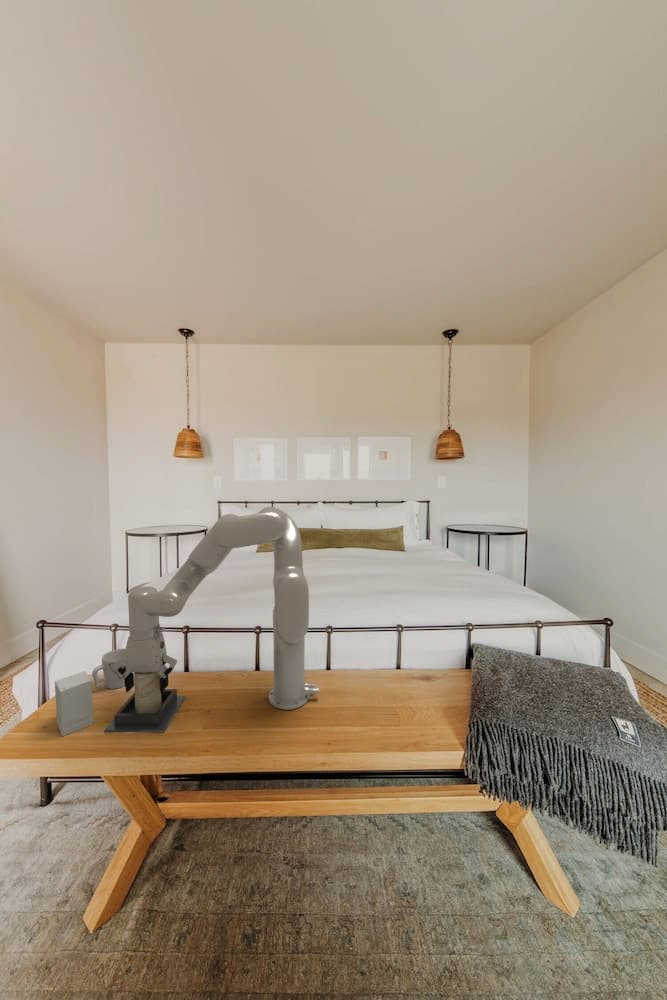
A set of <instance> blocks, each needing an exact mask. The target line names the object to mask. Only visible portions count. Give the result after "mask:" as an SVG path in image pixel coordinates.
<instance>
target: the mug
mask: <svg viewBox="0 0 667 1000" xmlns="http://www.w3.org/2000/svg"><path fill="white" fill-rule="evenodd" d="M125 653H126V647H125V648H116V649H112V650H110V651H107V652H106V653H104V654H103V655H102V657H101V664H100V665H98V666H96V667H94V669H93V670H92V672H91V676H92V679H93V682H94V685H95V686H96V687H97V688H102V687H105V686H107V688H108V689H111V690H116V688H117V689H121V688H123V687H125V680H124V678H122V675H121V674H120V673H119V672H118V669H117V668H116V666H115V664H114V663H115V662H116V661H117V660H118V659H120V658H122V657H124V656H125ZM123 665H124V666H125V662H123ZM101 670H102V671H103V677H104V680H103V681H102V682H100V680H99V677H98V673H99V671H101ZM120 687H121V688H120Z"/></svg>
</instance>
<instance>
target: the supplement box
mask: <svg viewBox="0 0 667 1000" xmlns="http://www.w3.org/2000/svg"><path fill="white" fill-rule="evenodd" d="M54 693H55V708H56V709H55V712H56V724H57V727H58V729H59V732H60V735H61V737H65V736H67V735H70V734H72V733H74V732H75V733H76V732H77V731H80V730H83V729H84V728H86V727H90V726H91V725H94V706H93V705H94V703H93V685H92V679H91V677H90V676H89V675H88V673H87V672H86V671H81V672H78V673H76V674H75V673H74V674H72V675H68V676H66V677H63V678H60V679H58V680H57V679H56V680H55V681H54Z"/></svg>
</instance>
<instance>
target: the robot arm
mask: <svg viewBox="0 0 667 1000" xmlns="http://www.w3.org/2000/svg"><path fill="white" fill-rule="evenodd" d="M268 543H272V544H273V578H272V579H273V580H272V582H273V583H272V584H273V593H274V594H273V595H274V606H273V609H272V627H273V629H272V633H273V637H272V638H273V688H272V689H270V691H269V693H268V702H269V703H270V705H271V706H272V707H274V708H275V709H276V708H277V709H279V710H287V711H288V710H295V709H299V708H300V707H302V706H303V705H305V704H306V703H307V702H308V701H309V699H310V695H319V694H320V693H319V692H320V691H319V689H320V688H319V687H316V683H309V682H307V678H305V646H306V644H305V642H306V641H305V640H306V639H305V637H306V635H307V632H308V630H309V626H310V625H309V624H310V621H309V620H310V601H309V600H310V599H309V598H310V592H309V584H308V581H307V579H306V575H305V574H304V568H303V545H302V536H301V533H300V530H299V528H298V526H297V524H296V522H295V521H294V519H293V518H292V517H291V516H290V515H288V513H286V512H285V511H283V510H281V509H280V508H277V507H273V506H267V507H263V508H262V509H260V510H259V511H258V513H253V514H247V515H240V516H238V515H236V514H234V513H233V514H232V513H227V514H224V515H222V516H221V517H219V518H218V519H217V520H216V521H215V523H214V525H212V526H211V528H210V529H209V530H208V532H207V533H206V534H205V535H204V537H202V539H201V540H200V541H199V542H198V543H197V544H196V546H195V547H194V548H193V549H192V551H191V552H190V554H189V555H188V557H187V559H186V560H185V562H184V563H183V564H182V565H181V567H180V568H179V569H178V571H176V573H175V574H174V575H173V577H172V578H171V579H170V580H169V582H168V583H167V584H166V585H165V586H164V587H163V589H162V590H160V591H158V589H157V588H155V587H153V586H141V587H137V588H134V589H132V590H130V591H129V593H128V597H127V600H128V601H127V602H128V603H127V604H128V627H129V628H128V631H129V636H128V637H127V640H126V644H125V649H126V653H125V656H124V657H122V658H120V659H118V660H117V661H116V662H115V663H114V664H115V666H116V668H117V669H118V672H119V673H120V674H121V675H122V678H124V680H125V686H124V688H125V692H126V693H128V692H130V691H131V690H132V689H133V688H134V687H135V686H134V672H157V673H158V674H159V675H160V676H161V678H160V691H161V692H163V691H164V690H165V689H167V688H168V686H169V675H170V674H171V673H172V671H173V670H174V669H175V667H176V665H177V663H178V660H177V659H175V658H173V657H172V656H170V655H168V654H167V653H168V652H167V646H166V641H165V636H164V634H163V633H164V631H165V628H164V627H163V626H162V627H161V624H160V617H165V618H172V617H175V616H177V615H179V614H180V613H181V612H183V609H184V607H185V606H186V604H187V602H188V600H189V598H190V596H191V595H192V594H193V593H194V591H195V590H196V589H197V588H198V587H199V585H200V584H201V583H202V581H203V580H204V579H205V578H206V577H207V576H208V575H210V574H212V573H214V572H215V571H216V570H217V569H218V568H219V566H220V565H221V564H222V563H223V562H224V561H225V559H226V557H227V556H228V555H229V554H230V552H231V551H232V550H234V549H238V548H245V547H251V546H257V545H261V544H262V545H263V544H268ZM123 662H125V666H124V665H123ZM167 664H168V665H169V667H167Z"/></svg>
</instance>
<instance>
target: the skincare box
mask: <svg viewBox="0 0 667 1000" xmlns="http://www.w3.org/2000/svg"><path fill="white" fill-rule="evenodd" d="M133 674H134V686H133V687H134V692H135V713H157V712H158V711H159V709H160V708H161V691H160V678H161V676H160V675H159V674H158V673H157V672H133Z"/></svg>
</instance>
